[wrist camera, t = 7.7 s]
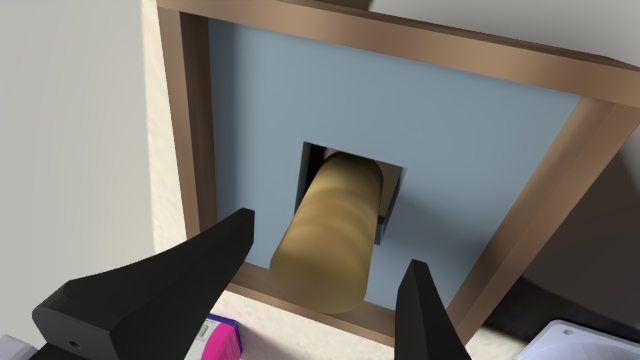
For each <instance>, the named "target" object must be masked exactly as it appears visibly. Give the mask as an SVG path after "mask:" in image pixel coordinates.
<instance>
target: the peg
mask: <svg viewBox="0 0 640 360" xmlns="http://www.w3.org/2000/svg"><path fill="white" fill-rule="evenodd" d="M382 188H383V175H382V172H381V169H380V168H379V166H378V165H377V163H376V162H375V161H374V160H373V159H370V158H366V157H363V156H359V155H355V154H351V153H347V152H343V151H339V152H335V153H333V154H332V155H330V156H328V157H327V158H326V159H325V160H324V162H323V163H322V165H321V167H320V169H319V170H318V172H317V174H316V176H315V178H314V180H313V182H312V183H311V185H310V187H309V189H308V191H307V193H306V195H305V196H304V198H303V200H302V202H301V204H300V206H299V208H298V209H297V211H296V213H295V215H294V217H293V219H292V221H291V222H290V224H289V226H288V228H287V230H286V232H285V234H284V235H283V237H282V239H281V241H280V243H279V245H278V247H277V249H276V250H275V252H274V254H273V256H272V258H271V261H270V265H269V270H270V275H271V278H272V280H273V282H274V284H275V285H276V287H277V288H278V289H279V291H280V292H281V293H282V294H283V295H284V296H286V297H287V298H288V299H289V300H291V301H292V302H294V303H295V304H297V305H299V306H301V307H303V308H306V309H308V310H311V311H315V312H319V313H326V314H337V313H344V312H347V311H350V310H352V309H354V308H356V307H357V306H358V305H359V304H360V303H361V302H362V301H363V299H364V297H365V295H366V290H367V284H368V277H369V271H370V265H371V258H372V252H373V246H374V239H375V233H376V226H377V220H378V214H379V207H380V200H381V195H382Z"/></svg>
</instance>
